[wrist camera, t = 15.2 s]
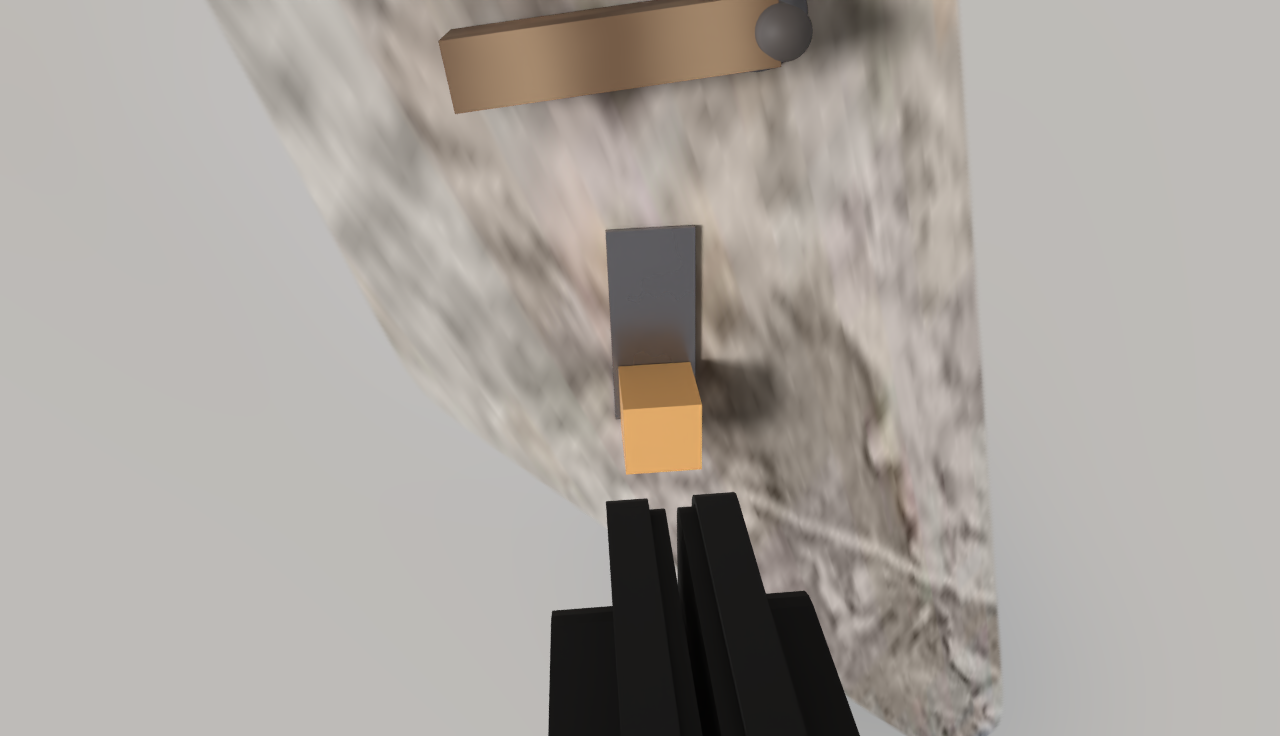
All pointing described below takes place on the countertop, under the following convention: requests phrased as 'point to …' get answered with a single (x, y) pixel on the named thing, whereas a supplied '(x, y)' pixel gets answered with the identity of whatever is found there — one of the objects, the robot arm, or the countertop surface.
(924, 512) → the countertop surface
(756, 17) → the bar
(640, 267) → the grey flat plate
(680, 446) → the orange cube
